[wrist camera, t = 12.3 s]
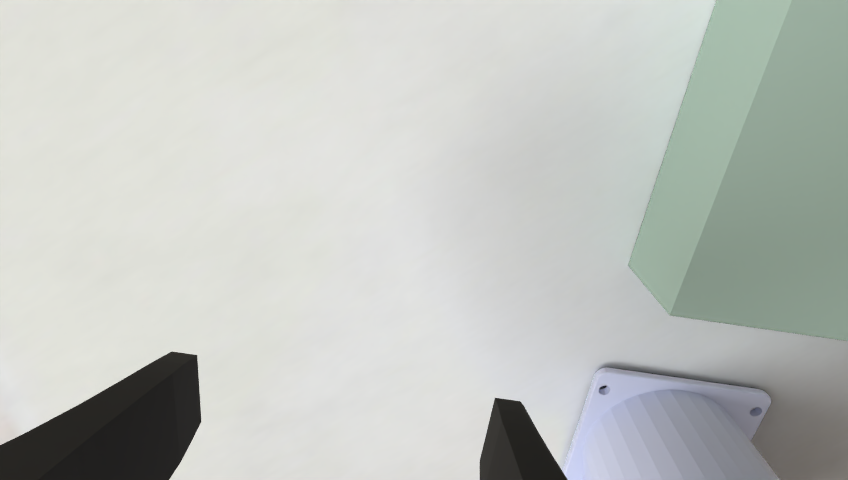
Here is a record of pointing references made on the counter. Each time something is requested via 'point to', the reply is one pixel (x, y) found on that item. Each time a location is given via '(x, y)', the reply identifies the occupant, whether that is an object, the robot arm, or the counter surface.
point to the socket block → (757, 175)
